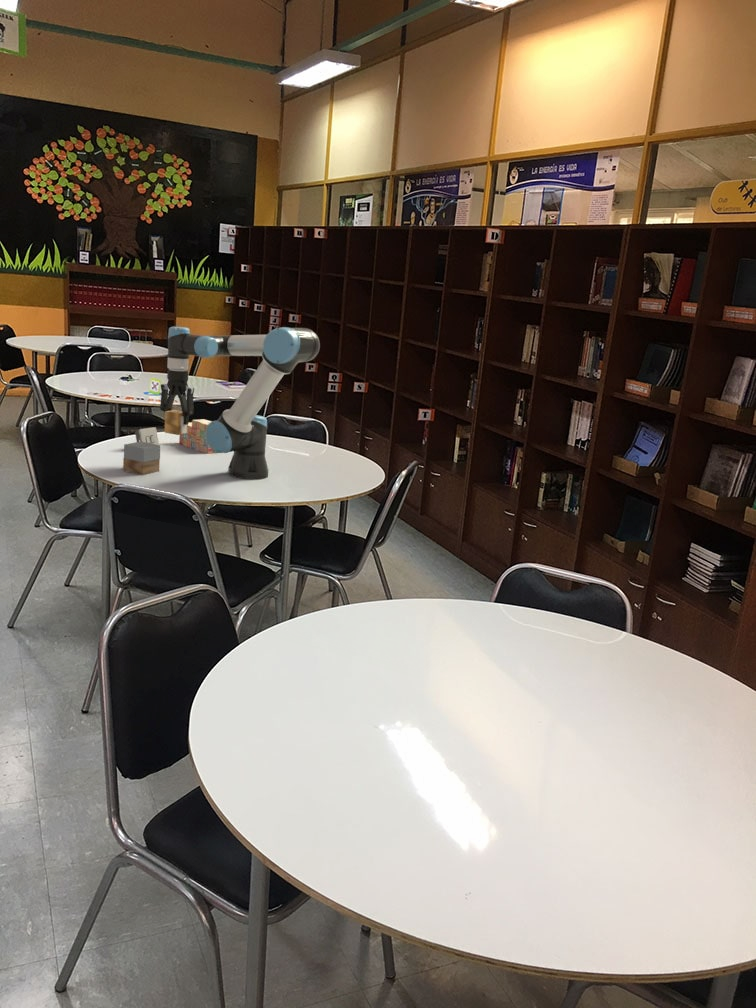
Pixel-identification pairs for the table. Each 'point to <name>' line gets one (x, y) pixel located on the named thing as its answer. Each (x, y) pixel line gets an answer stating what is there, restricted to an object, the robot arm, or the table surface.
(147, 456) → the tower top block
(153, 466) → the tower bottom block
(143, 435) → the electrical switch
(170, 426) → the ochre block
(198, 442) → the stack of blocks
